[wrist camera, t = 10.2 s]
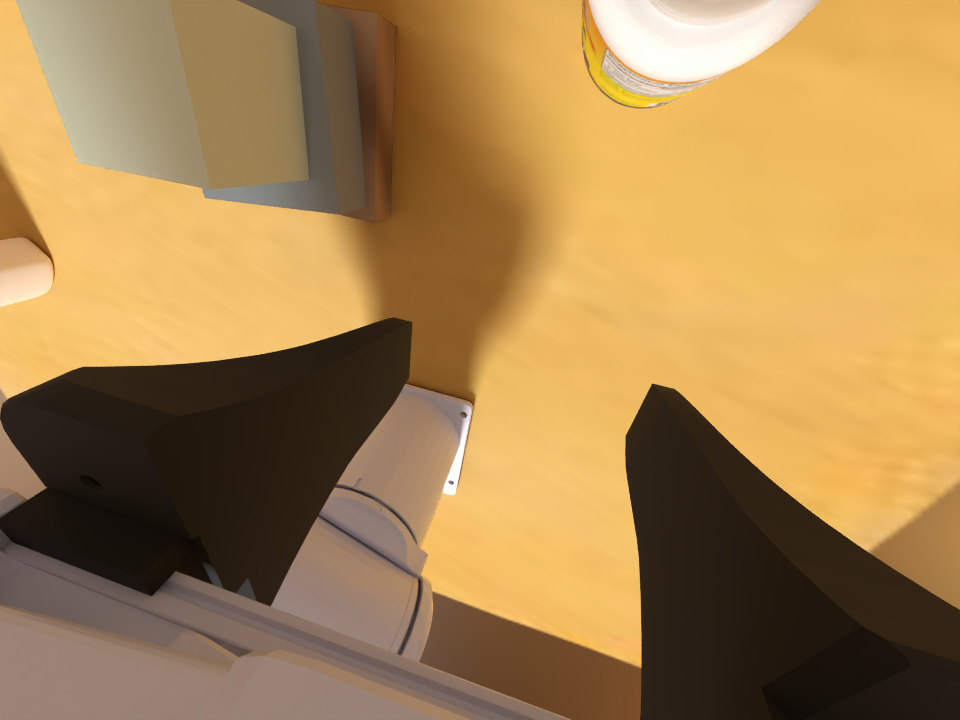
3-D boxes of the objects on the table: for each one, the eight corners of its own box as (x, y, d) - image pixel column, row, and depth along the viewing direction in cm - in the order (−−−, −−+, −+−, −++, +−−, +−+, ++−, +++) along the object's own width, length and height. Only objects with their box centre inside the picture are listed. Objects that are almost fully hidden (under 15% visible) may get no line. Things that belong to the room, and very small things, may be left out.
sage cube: (309, 180, 16) (210, 189, 11) (208, 160, 16) (77, 162, 12) (295, 26, 13) (160, -35, 9) (175, 10, 14) (-6, -56, 9)
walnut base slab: (395, 215, 21) (374, 222, 18) (268, 187, 21) (235, 190, 19) (402, 31, 16) (376, 12, 14) (245, 5, 17) (199, -16, 15)
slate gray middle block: (367, 207, 18) (339, 214, 16) (245, 193, 19) (205, 198, 17) (352, 21, 15) (314, -1, 13) (203, 16, 16) (146, -5, 14)
